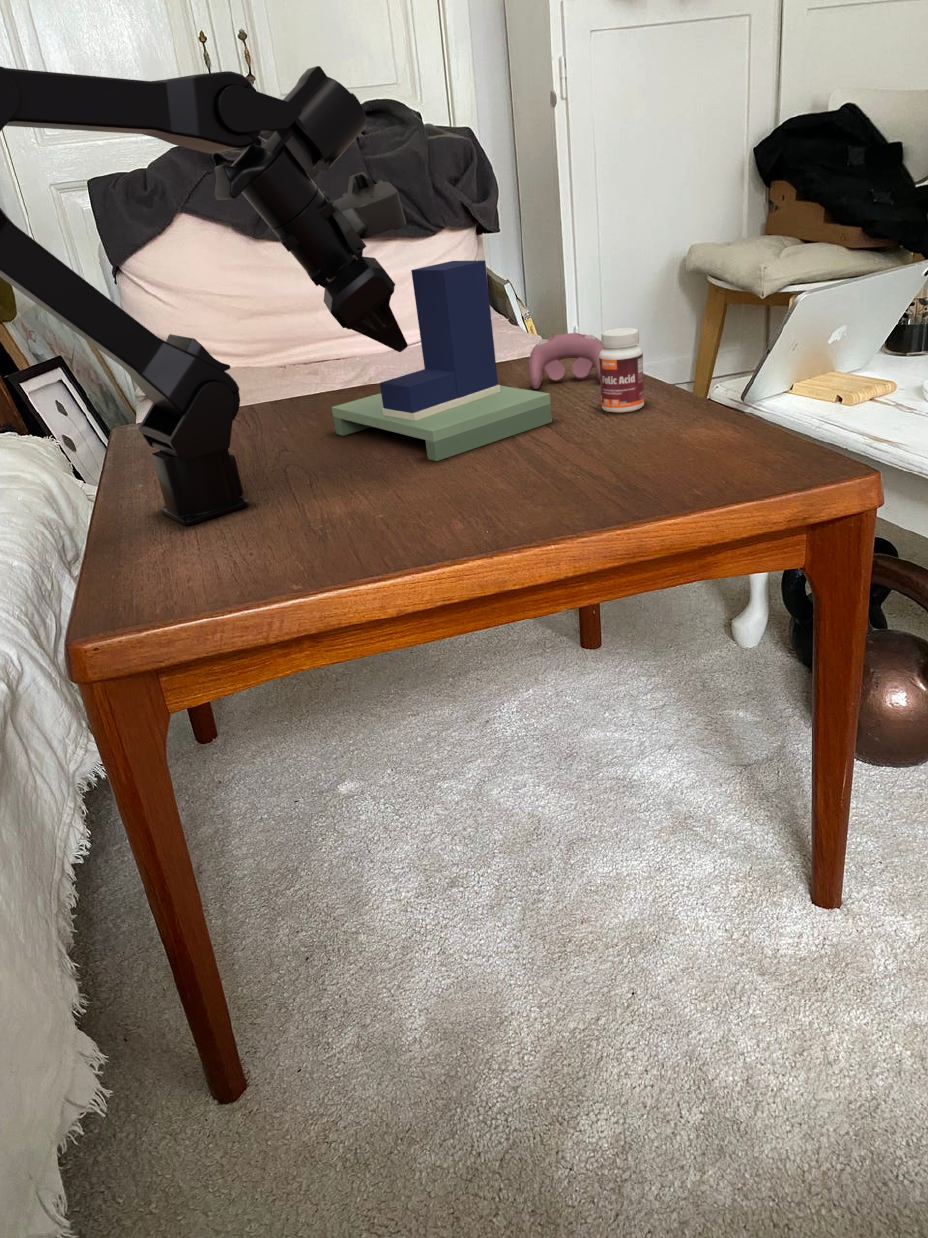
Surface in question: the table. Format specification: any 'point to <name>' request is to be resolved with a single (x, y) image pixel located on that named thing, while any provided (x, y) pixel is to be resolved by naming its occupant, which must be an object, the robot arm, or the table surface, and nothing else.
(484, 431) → the shoe shelf
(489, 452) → the table surface
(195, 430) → the robot arm
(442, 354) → the boot
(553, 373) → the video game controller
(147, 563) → the table surface
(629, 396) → the pill bottle
